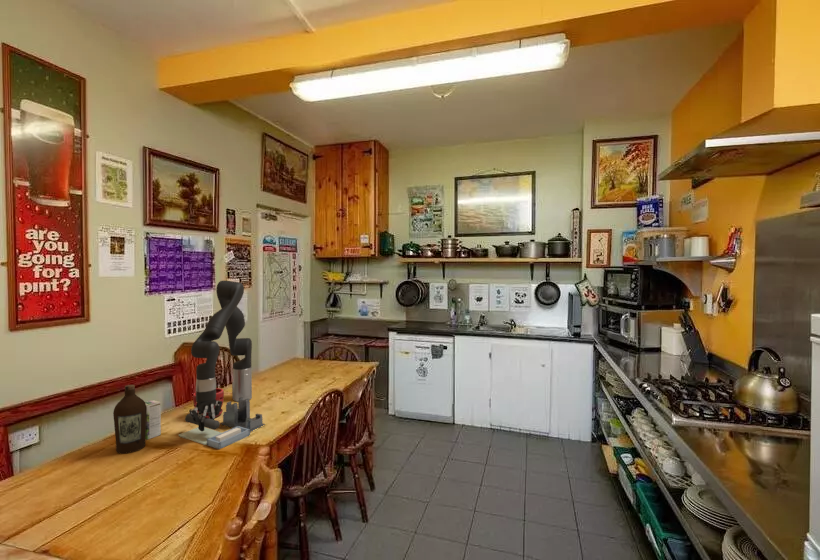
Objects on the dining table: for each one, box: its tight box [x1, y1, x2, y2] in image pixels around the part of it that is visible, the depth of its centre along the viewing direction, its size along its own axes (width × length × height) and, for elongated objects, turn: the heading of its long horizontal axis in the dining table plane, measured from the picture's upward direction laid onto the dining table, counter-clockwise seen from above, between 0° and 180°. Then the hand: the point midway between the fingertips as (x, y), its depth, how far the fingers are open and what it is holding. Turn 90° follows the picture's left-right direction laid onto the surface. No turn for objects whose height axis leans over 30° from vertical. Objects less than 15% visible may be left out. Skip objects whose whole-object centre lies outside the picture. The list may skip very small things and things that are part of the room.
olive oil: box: [112, 384, 147, 454], centre depth 151 cm, size 11×11×25 cm
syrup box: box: [144, 399, 162, 440], centre depth 163 cm, size 6×6×14 cm
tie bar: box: [216, 428, 241, 442], centre depth 159 cm, size 3×10×3 cm, turn 153°
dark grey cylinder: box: [184, 412, 221, 431], centre depth 163 cm, size 18×4×4 cm, turn 62°
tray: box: [206, 426, 251, 450], centre depth 159 cm, size 8×15×2 cm, turn 152°
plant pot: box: [192, 387, 225, 418], centre depth 185 cm, size 13×13×12 cm
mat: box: [177, 426, 223, 446], centre depth 163 cm, size 18×10×1 cm, turn 62°
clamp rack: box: [220, 397, 266, 433], centre depth 174 cm, size 19×8×11 cm, turn 62°
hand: (206, 428), depth 162 cm, fingers closed on dark grey cylinder, 3 cm apart
